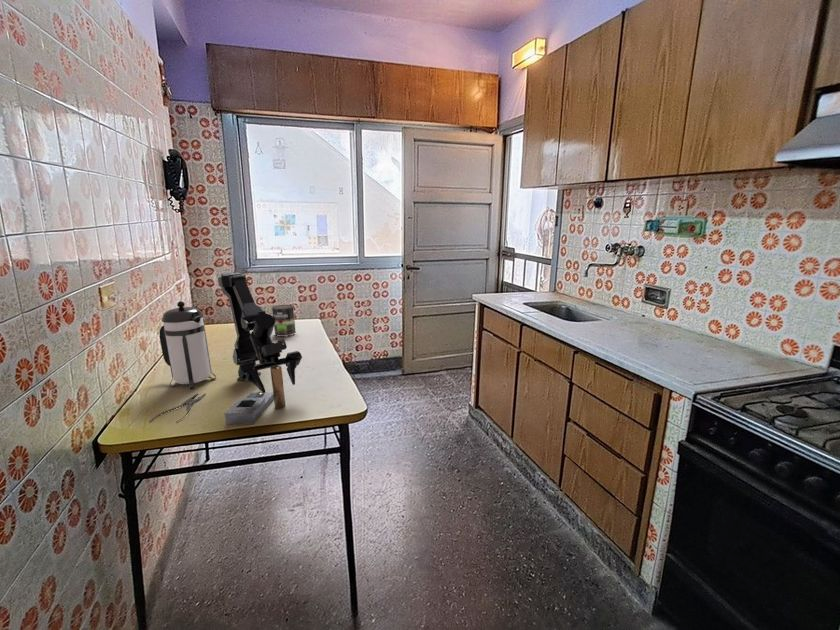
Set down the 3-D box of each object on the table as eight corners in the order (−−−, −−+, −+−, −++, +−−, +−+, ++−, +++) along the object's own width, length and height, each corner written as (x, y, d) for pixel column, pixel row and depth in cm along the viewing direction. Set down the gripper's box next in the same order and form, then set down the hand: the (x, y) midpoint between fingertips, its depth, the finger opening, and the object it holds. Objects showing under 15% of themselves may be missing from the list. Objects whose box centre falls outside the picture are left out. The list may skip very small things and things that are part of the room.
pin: (276, 404, 133) (272, 365, 130) (287, 404, 133) (282, 365, 130) (273, 409, 130) (268, 369, 127) (283, 409, 130) (279, 369, 127)
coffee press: (218, 371, 163) (207, 295, 155) (214, 386, 148) (201, 303, 141) (167, 378, 157) (153, 299, 150) (157, 394, 142) (141, 308, 135)
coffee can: (292, 336, 206) (289, 308, 203) (271, 337, 207) (268, 309, 203) (299, 330, 216) (296, 304, 213) (279, 331, 217) (276, 304, 213)
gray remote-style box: (251, 397, 138) (250, 387, 137) (275, 397, 138) (273, 387, 137) (226, 424, 121) (224, 413, 120) (253, 424, 121) (251, 412, 120)
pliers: (145, 423, 122) (176, 394, 141) (146, 426, 122) (176, 396, 141) (180, 421, 123) (206, 392, 142) (181, 424, 123) (207, 395, 142)
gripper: (235, 338, 123) (252, 384, 117) (296, 326, 134) (314, 368, 128) (231, 357, 131) (246, 401, 125) (289, 344, 142) (306, 384, 136)
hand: (279, 388), depth 129 cm, fingers open, 9 cm apart
